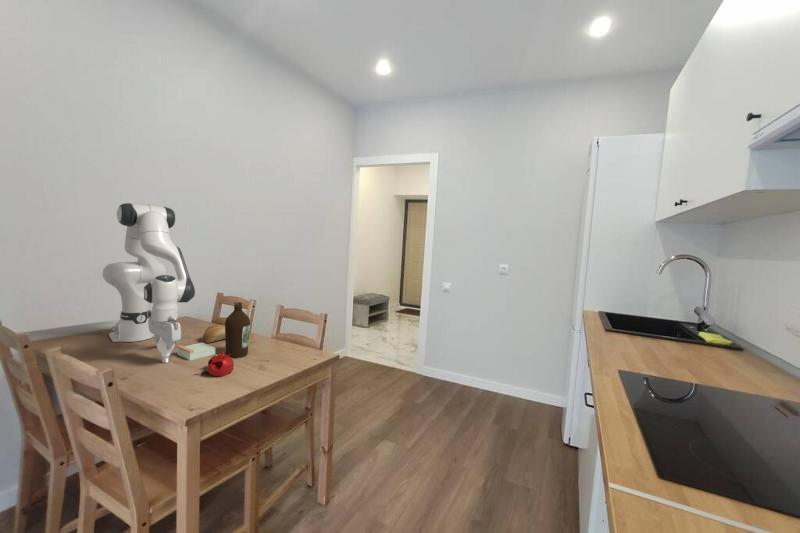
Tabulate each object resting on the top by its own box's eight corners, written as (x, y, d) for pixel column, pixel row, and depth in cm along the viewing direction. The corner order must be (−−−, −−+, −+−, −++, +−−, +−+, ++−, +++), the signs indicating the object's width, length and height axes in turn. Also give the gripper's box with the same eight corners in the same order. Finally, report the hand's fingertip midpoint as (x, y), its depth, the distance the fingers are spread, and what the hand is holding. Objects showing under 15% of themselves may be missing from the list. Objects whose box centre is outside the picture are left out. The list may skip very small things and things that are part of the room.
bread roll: (197, 342, 172) (197, 327, 171) (223, 335, 185) (223, 321, 185) (209, 345, 168) (210, 330, 167) (235, 338, 181) (236, 324, 181)
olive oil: (219, 358, 153) (221, 304, 151) (230, 350, 163) (232, 299, 161) (243, 359, 153) (245, 305, 151) (252, 351, 164) (254, 301, 162)
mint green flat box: (177, 354, 150) (177, 345, 150) (202, 348, 159) (202, 340, 159) (189, 360, 144) (190, 351, 144) (215, 354, 154) (215, 345, 153)
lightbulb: (154, 366, 137) (155, 340, 136) (157, 361, 142) (158, 335, 141) (173, 364, 140) (174, 338, 139) (175, 359, 145) (176, 334, 144)
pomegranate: (224, 367, 144) (225, 345, 143) (239, 372, 139) (239, 350, 138) (201, 373, 135) (201, 351, 135) (215, 380, 130) (216, 356, 130)
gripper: (186, 318, 137) (185, 351, 138) (162, 309, 147) (161, 340, 149) (168, 321, 131) (168, 355, 133) (145, 311, 142) (145, 343, 143)
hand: (164, 347), depth 141 cm, fingers open, 8 cm apart
